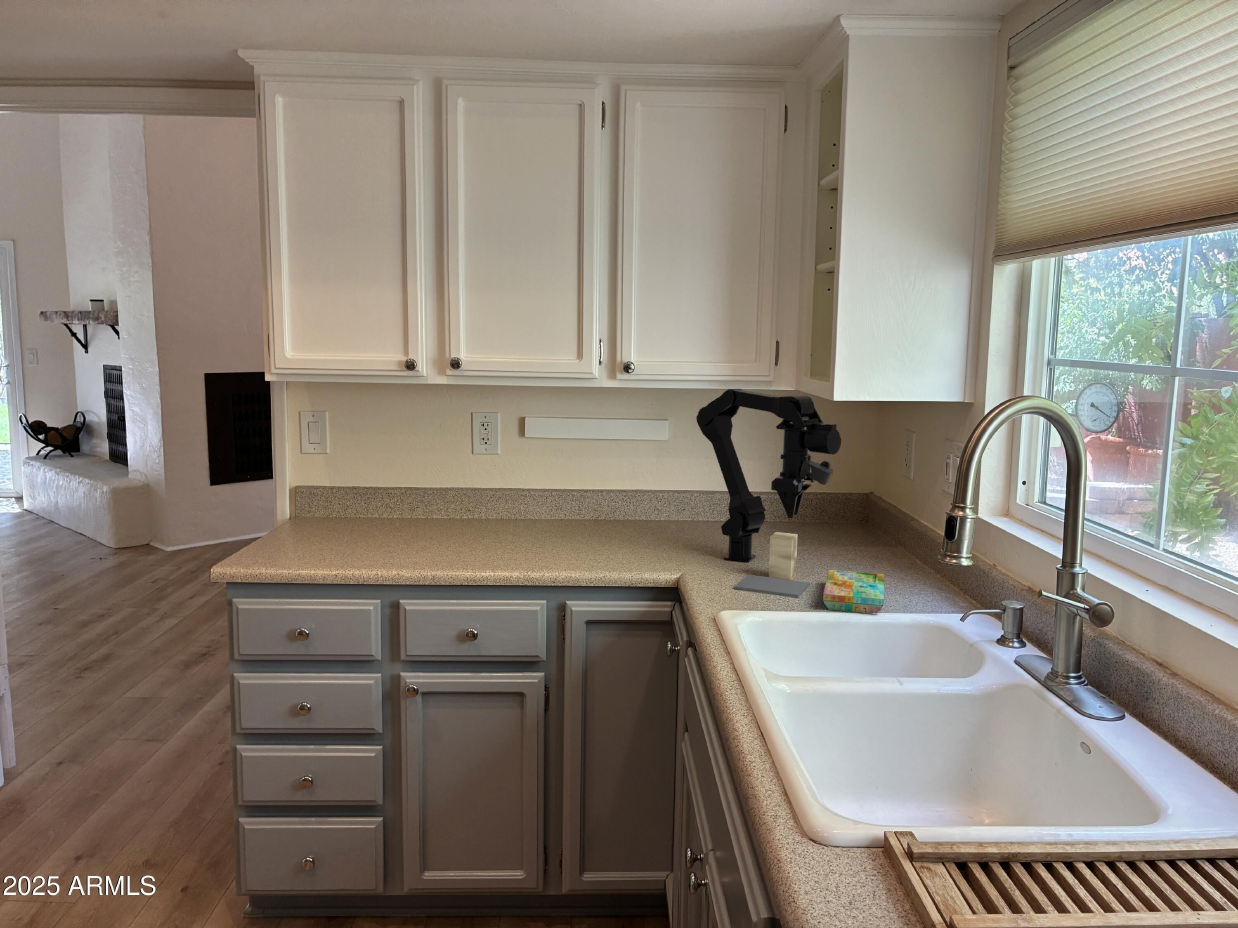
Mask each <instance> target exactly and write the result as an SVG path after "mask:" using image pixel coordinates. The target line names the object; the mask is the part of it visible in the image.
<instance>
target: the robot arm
mask: <svg viewBox="0 0 1238 928" xmlns="http://www.w3.org/2000/svg"><path fill="white" fill-rule="evenodd" d="M740 407H742V408H747V409H752V410H758V411H761V412H767V413H770V414H774V415H775V416H776V417H777V418H779V419H782V420H781V422H780V423H778V424H777V425H776V426H775V428H776V430H781V431H783V444H782V449H783V450H782V453H781V454H780V460H782V469H781V470H782V471H780V472H779V476H777V477H775V478H774V479H772V481H771V484H770V489H771V491H775V492H776V493H777V494H778V497H779V500H780V501H781V504H782V507H783V509H784V511H785V514H786V516H787V518H788V519H793V518H794V516H797V515H798V514H799V510H800V507H801V504H802V500H803V497H804V494H805V492H806V491H807V490H809V489H810V487H812V484H811V483H815V482H818V484H820V485H823V486H826V485H827V484H828V483H829V482H830V479H831V477H832V476H833V473H834V469H833V468H831V462H830V461H827V460H824V461H821V463H819V462H815V461H813V460H812V455H811V453H819V454H825V455H836V454H837V453H838V452H839V451H840V448H841V444H842V438H841V434H840V431H839V430H838V429H837V426H838V425H837V424H836V423H824V421H823V419H822V418H821V416H820V414H819V413H818V411H817V409H816V407H815V403H814V401H813V399H812V397H811V396H809V395H786V396H785V395H784V396H783V395H780V396H779V395H774V394H769V393H762V392H758V391H757V392H756V391H749V390H745V389H741V388H728V389H727V390H725V391H724V392H723V393H721V395H720V396H718V397H716V398H715V399H714V400H712V401H710V402H709V403H708V404H706V405H705V406H702V407H701V408H700V409H699V410H698V412H697V415H696V416H695V419H696V423H697V425H698V427H699V430H700V431H701V433H702V435H703V436H704V437H705V438H706V439H707V440H708V441H709V442H710V443H711V445H712V447H713V451H714V453H715V456H716V459H717V463H718V466H719V468H720V472H721V474H722V478H723V480H724V481H723V482H724V484H725V487H726V490H727V492H728V495H729V503H728V509H727V510H728V515H729V516H728V517H729V518H728V519H727V520H725V522H723V524H722V525H721V526H720V528H721V533H722V535H723V536H727V537H728V548H727V549H728V551H727V552H728V553H727V554H726V555H724V556H723V559H724V560H727V561H736V562H745V563H749V562H751V561H753V560H754V559H755V558H756V556H757V555H756V554H754V553H753V554H752V551H753V534H758V533H760V529H761V527H762V526H763V524H764V522H765V520H766V513H765V512H766V511H767V510H766V508H765V506H764V505H763V500H762V497H761V495H753V494H752V493H751V491H750V490H749V486H748V484H747V480H746V477H745V475H744V472H743V470H742V469H743V468H742V466H741V464H740V460H739V457H738V454H737V451H736V449H735V446H734V442H733V440H732V431H733V421H732V419H733V418H734V417H735V416H736V415H737V413H739V409H740ZM809 452H811V453H809ZM806 481H810V483H807V482H806Z"/></svg>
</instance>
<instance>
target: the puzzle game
mask: <svg viewBox="0 0 1238 928" xmlns="http://www.w3.org/2000/svg"><path fill="white" fill-rule="evenodd" d="M884 594H885V574H884V573H873V572H860V571H848V570H836V569H828V574H827V577H826V582H825V585H824V590H823V595H822V601H823V603H824V605H825V606H826V607H827V609H828V610H829V611H838V612H847V613H848V612H849V613H858V612H865V613H864V614H868V613H877V614H878V613H879V612H880V611H881V610H882V608H883V607H884V597H885V596H884Z"/></svg>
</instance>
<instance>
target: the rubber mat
mask: <svg viewBox="0 0 1238 928" xmlns="http://www.w3.org/2000/svg"><path fill="white" fill-rule="evenodd" d="M810 585H811V582H808V581H801V580H795V579H793V580H786V579H779V578H771V577H769V576H761V575H753V574H748V575H747V576H746V577H744V578H743V579H742V580H741V581H739V582H738V583H737V584H735V586H734V590H739V591H745V592H751V593H752V592H754V593H759V594H760V593H761V594H767V595H776V596H783V597H790V598H798V599H799V597H800V596H801V595H802V594H803V593H804V592H805V591H806V590H807V589H808V587H810Z"/></svg>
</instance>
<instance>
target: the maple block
mask: <svg viewBox="0 0 1238 928" xmlns="http://www.w3.org/2000/svg"><path fill="white" fill-rule="evenodd" d="M797 553H798V533H787V532H780V531H775V532H774V533H773V534H772V535H770V537H769V559H768V560H769V562H768V563H769V565H768V577H771V578H779V579H786V580H795V579H796V578H797V575H796V574H797V558H798V554H797Z"/></svg>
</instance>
